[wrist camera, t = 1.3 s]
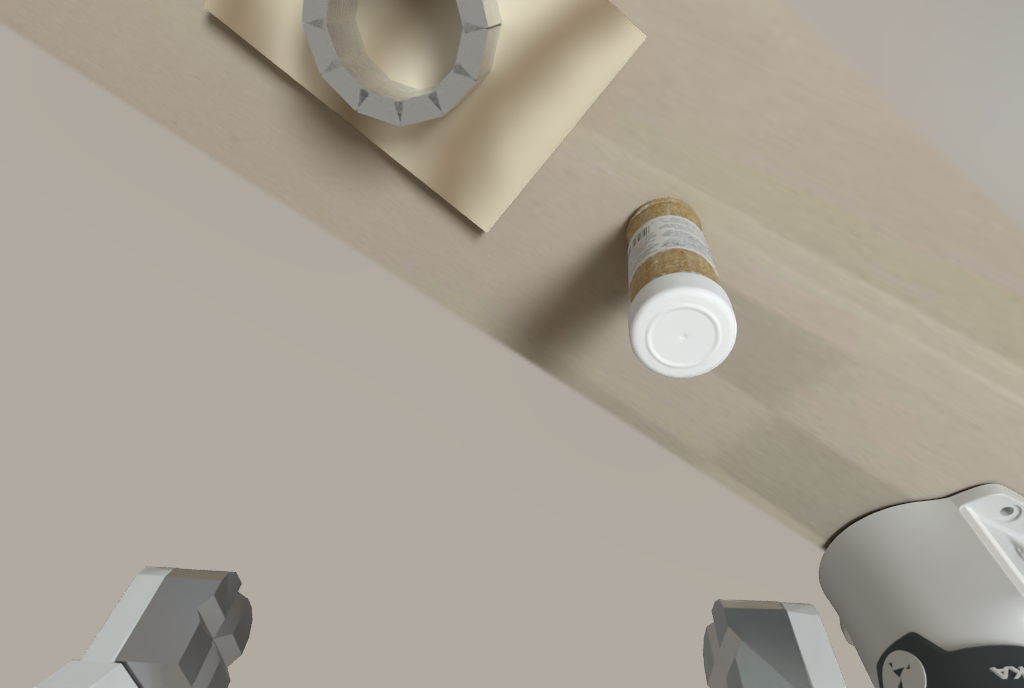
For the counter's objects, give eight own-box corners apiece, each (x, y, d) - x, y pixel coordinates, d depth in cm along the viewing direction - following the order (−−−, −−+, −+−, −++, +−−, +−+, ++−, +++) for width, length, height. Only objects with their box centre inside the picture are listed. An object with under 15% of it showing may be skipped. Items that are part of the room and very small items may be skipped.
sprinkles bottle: (661, 279, 40) (679, 399, 28) (610, 232, 39) (606, 338, 27) (718, 229, 37) (762, 337, 26) (665, 178, 36) (686, 267, 25)
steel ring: (520, -48, 31) (507, -52, 27) (476, 131, 35) (460, 146, 32) (347, -106, 31) (313, -117, 27) (326, 81, 35) (295, 91, 32)
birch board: (645, 35, 33) (646, 37, 32) (490, 226, 39) (486, 233, 38) (329, -264, 29) (319, -273, 28) (215, 6, 35) (203, 6, 34)
